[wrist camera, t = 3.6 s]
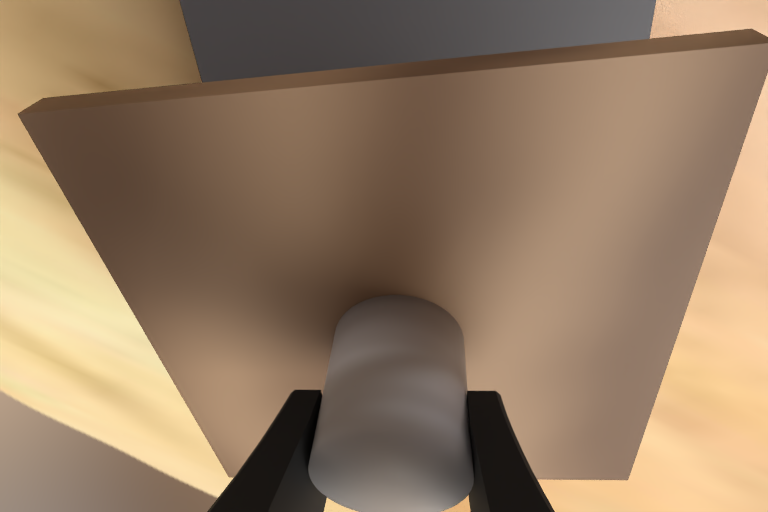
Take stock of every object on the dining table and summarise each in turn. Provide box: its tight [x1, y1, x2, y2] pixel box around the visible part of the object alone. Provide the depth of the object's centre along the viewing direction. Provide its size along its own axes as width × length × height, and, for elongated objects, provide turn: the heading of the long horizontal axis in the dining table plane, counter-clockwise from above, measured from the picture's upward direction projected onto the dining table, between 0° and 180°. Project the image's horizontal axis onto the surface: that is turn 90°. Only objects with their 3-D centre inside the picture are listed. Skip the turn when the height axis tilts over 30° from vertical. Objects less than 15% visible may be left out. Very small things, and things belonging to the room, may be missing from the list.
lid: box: [18, 29, 768, 512], centre depth 11 cm, size 13×13×4 cm
